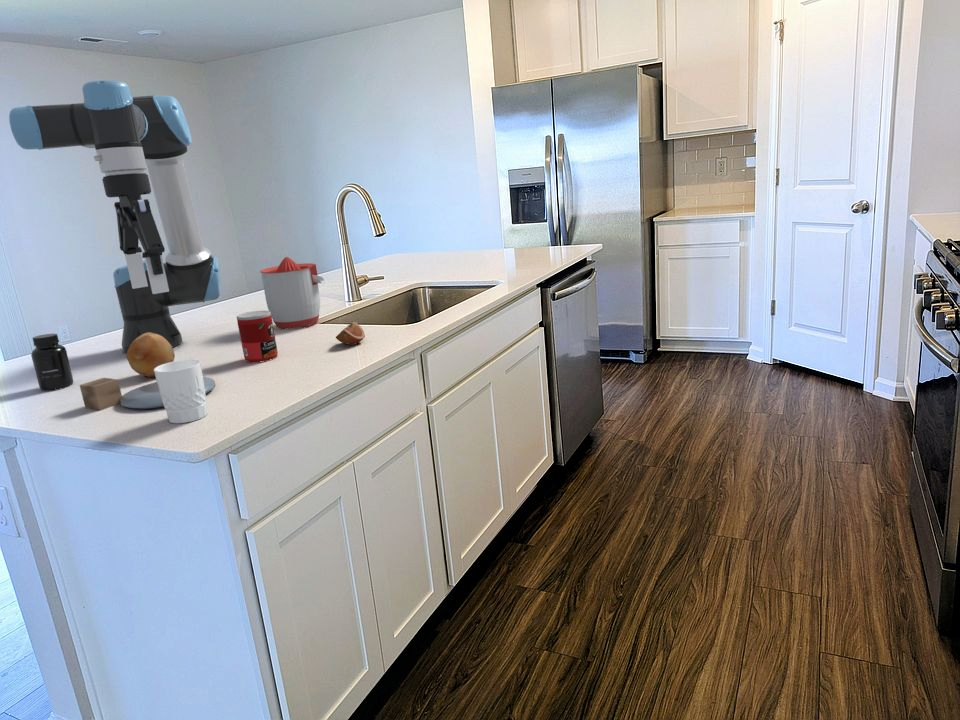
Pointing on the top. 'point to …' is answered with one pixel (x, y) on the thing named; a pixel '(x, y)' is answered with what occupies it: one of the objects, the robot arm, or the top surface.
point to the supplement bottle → (51, 363)
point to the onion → (149, 353)
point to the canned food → (257, 336)
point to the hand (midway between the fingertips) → (150, 290)
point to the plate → (152, 395)
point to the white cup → (182, 390)
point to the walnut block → (101, 393)
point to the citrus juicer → (292, 293)
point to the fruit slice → (351, 334)
